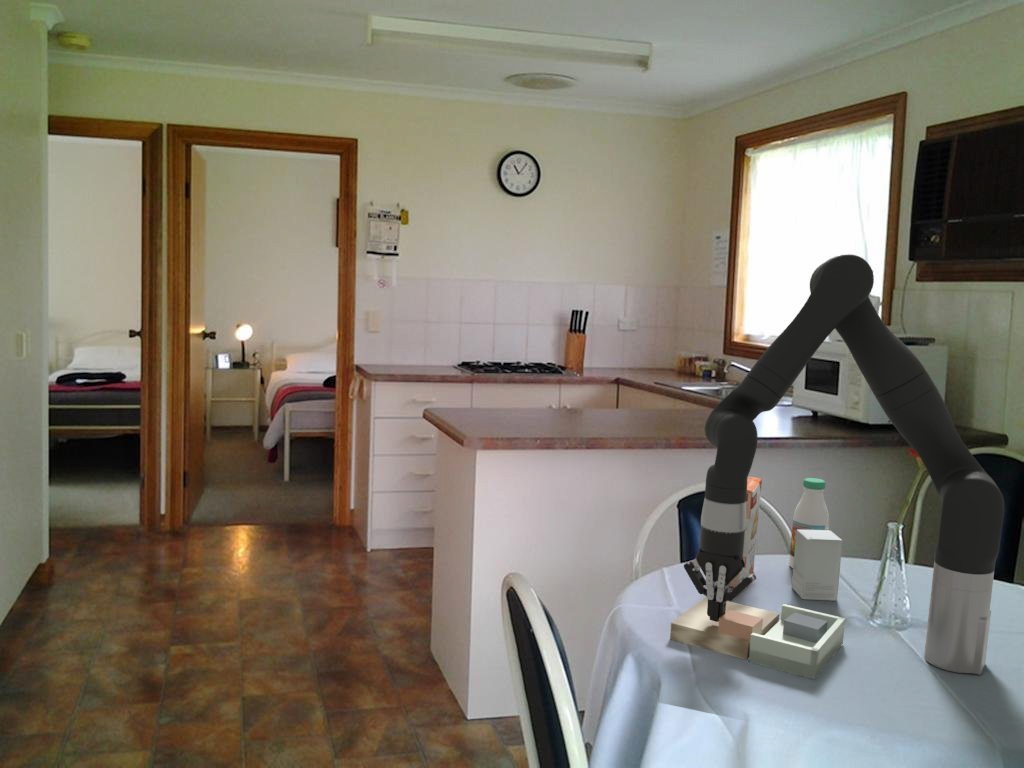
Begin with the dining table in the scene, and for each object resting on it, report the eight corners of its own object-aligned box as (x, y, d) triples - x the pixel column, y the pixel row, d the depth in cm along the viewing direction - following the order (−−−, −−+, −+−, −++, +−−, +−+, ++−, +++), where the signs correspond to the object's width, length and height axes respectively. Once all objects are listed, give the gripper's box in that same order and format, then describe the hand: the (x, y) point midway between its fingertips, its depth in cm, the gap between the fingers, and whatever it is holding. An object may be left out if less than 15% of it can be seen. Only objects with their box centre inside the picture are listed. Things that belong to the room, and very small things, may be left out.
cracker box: (746, 591, 196) (754, 491, 193) (716, 586, 198) (723, 487, 195) (755, 571, 208) (763, 477, 206) (727, 566, 211) (734, 473, 208)
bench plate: (778, 629, 176) (779, 613, 175) (746, 659, 162) (748, 642, 161) (706, 611, 183) (707, 596, 183) (670, 639, 169) (671, 622, 169)
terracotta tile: (761, 632, 166) (762, 618, 166) (751, 641, 162) (752, 626, 162) (728, 623, 170) (730, 609, 169) (718, 631, 166) (719, 618, 165)
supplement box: (838, 601, 192) (843, 540, 190) (801, 599, 192) (806, 538, 190) (826, 588, 199) (831, 529, 197) (790, 587, 199) (795, 528, 197)
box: (842, 644, 170) (845, 618, 169) (814, 679, 155) (817, 651, 154) (781, 628, 176) (783, 603, 175) (748, 661, 161) (750, 634, 160)
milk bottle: (797, 560, 217) (804, 474, 215) (830, 568, 213) (838, 480, 210) (783, 567, 211) (790, 479, 209) (817, 576, 207) (825, 485, 204)
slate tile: (826, 634, 168) (827, 621, 168) (816, 643, 164) (817, 629, 164) (793, 625, 172) (794, 612, 172) (782, 633, 168) (783, 620, 168)
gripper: (767, 527, 166) (759, 622, 168) (695, 512, 173) (688, 604, 175) (752, 536, 159) (744, 636, 162) (679, 521, 167) (672, 616, 169)
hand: (715, 619), depth 168 cm, fingers closed
